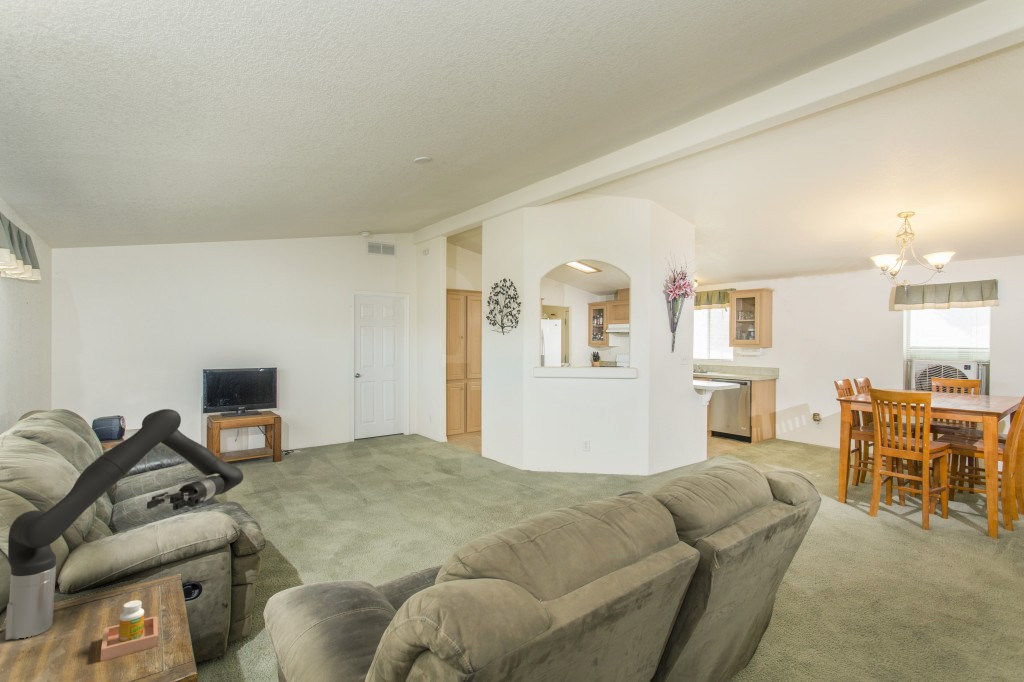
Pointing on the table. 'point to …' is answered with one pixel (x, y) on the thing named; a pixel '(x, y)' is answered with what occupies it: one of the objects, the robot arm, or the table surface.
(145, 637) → the tray
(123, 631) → the supplement bottle
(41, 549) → the robot arm
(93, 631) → the table surface
